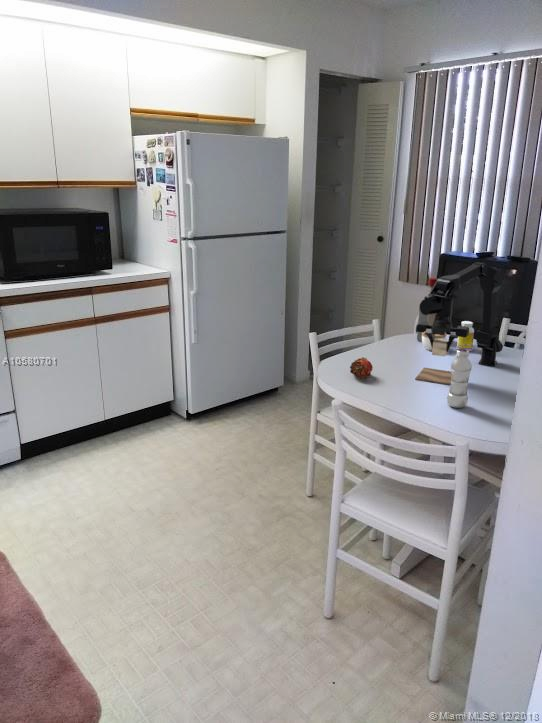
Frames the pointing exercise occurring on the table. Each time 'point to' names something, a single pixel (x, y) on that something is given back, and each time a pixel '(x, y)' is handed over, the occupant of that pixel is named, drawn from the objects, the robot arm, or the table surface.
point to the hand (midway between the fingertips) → (440, 350)
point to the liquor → (430, 317)
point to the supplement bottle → (466, 341)
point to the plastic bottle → (459, 379)
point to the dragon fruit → (361, 368)
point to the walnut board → (435, 376)
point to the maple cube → (440, 347)
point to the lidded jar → (427, 342)
